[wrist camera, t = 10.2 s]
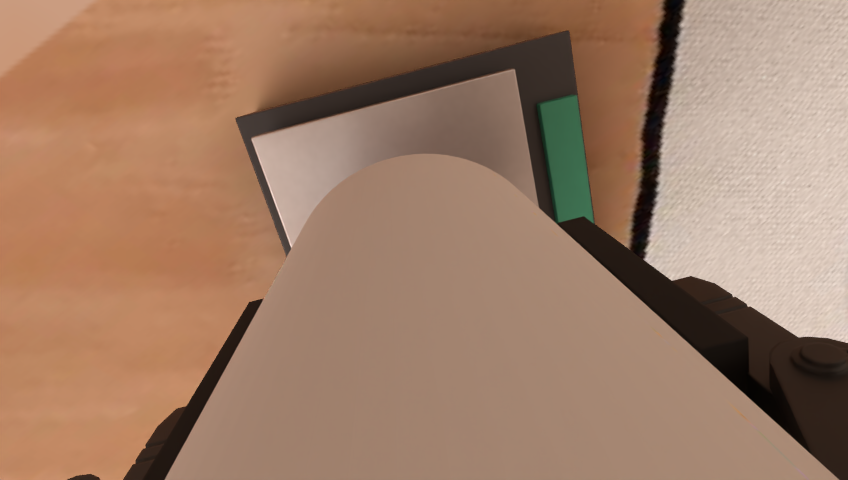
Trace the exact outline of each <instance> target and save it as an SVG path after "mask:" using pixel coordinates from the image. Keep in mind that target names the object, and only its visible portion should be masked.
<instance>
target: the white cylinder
mask: <svg viewBox="0 0 848 480" xmlns="http://www.w3.org/2000/svg"><path fill="white" fill-rule="evenodd" d="M165 480H839V479H838V478H837V477H836V476H834V475H833V474H832V473H831V472H830V471H829V470H828V469H827V468H826V467H824V466H823V465H822V464H821V463H820V462H819V461H818V460H817V459H816V458H815V457H813V456H812V455H811V454H810V453H809V452H808V451H807V450H806V449H805V448H803V447H802V446H801V445H800V444H799V443H798V442H797V441H796V440H795V439H794V438H792V437H791V436H790V435H789V434H788V433H787V432H786V431H785V430H784V429H782V428H781V427H780V426H779V425H778V424H777V423H776V422H775V421H774V420H773V419H771V418H770V417H769V416H768V415H767V414H766V413H765V412H764V411H763V410H762V409H760V408H759V407H758V406H757V405H756V404H755V403H754V402H753V401H752V400H750V399H749V398H748V397H747V396H746V395H745V394H744V393H743V392H742V391H741V390H739V389H738V388H737V387H736V386H735V385H734V384H733V383H732V382H731V381H729V380H728V379H727V378H726V377H725V376H724V375H723V374H722V373H721V372H720V371H718V370H717V369H716V368H715V367H714V366H713V365H712V364H711V363H710V362H708V361H707V360H706V359H705V358H704V357H703V356H702V355H701V354H700V353H699V352H697V351H696V350H695V349H694V348H693V347H692V346H691V345H690V344H689V343H688V342H686V341H685V340H684V339H683V338H682V337H681V336H680V335H679V334H678V333H676V332H675V331H674V330H673V329H672V328H671V327H670V326H669V325H668V324H667V323H665V322H664V321H663V320H662V319H661V318H660V317H659V316H658V315H657V314H655V313H654V312H653V311H652V310H651V309H650V308H649V307H648V306H647V305H646V304H644V303H643V302H642V301H641V300H640V299H639V298H638V297H637V296H636V295H634V294H633V293H632V292H631V291H630V290H629V289H628V288H627V287H626V286H625V285H623V284H622V283H621V282H620V281H619V280H618V279H617V278H616V277H615V276H614V275H612V274H611V273H610V272H609V271H608V270H607V269H606V268H605V267H604V266H602V265H601V264H600V263H599V262H598V261H597V260H596V259H595V258H594V257H593V256H591V255H590V254H589V253H588V252H587V251H586V250H585V249H584V248H583V247H581V246H580V245H579V244H578V243H577V242H576V241H575V240H574V239H573V238H572V237H570V236H569V235H568V234H567V233H566V232H565V231H564V230H563V229H562V228H560V227H559V226H558V225H557V224H556V223H555V222H554V221H553V220H552V219H551V218H549V217H548V216H547V215H546V214H545V213H544V212H543V211H542V210H541V209H540V208H538V207H537V206H536V205H535V204H534V203H533V202H532V201H531V200H530V199H528V198H527V197H526V196H525V195H524V194H523V193H522V192H521V191H520V190H519V189H517V188H516V187H515V186H514V185H513V184H512V183H510V182H509V181H508V180H507V179H505V178H504V177H502V176H501V175H499V174H498V173H496V172H494V171H492V170H491V169H489V168H487V167H485V166H482V165H480V164H478V163H475V162H472V161H469V160H466V159H463V158H459V157H454V156H449V155H441V154H411V155H404V156H398V157H394V158H390V159H386V160H383V161H380V162H377V163H375V164H372V165H369V166H367V167H365V168H363V169H361V170H359V171H357V172H356V173H354V174H352V175H351V176H349V177H347V178H346V179H345V180H343V181H342V182H340V183H339V184H338V185H337V186H336V187H334V188H333V189H332V190H331V191H330V192H329V193H328V194H327V195H326V196H325V197H324V198H323V199H322V200H321V201H320V202H319V204H318V205H317V206H316V207H315V209H314V210H313V212H312V213H311V214H310V216H309V218H308V219H307V221H306V223H305V225H304V226H303V228H302V230H301V232H300V234H299V235H298V237H297V239H296V241H295V243H294V245H293V246H292V248H291V250H290V252H289V254H288V256H287V257H286V259H285V261H284V263H283V265H282V266H281V268H280V270H279V272H278V274H277V276H276V277H275V279H274V281H273V283H272V285H271V287H270V288H269V290H268V292H267V294H266V296H265V298H264V299H263V301H262V303H261V305H260V307H259V308H258V310H257V312H256V314H255V316H254V318H253V319H252V321H251V323H250V325H249V327H248V329H247V330H246V332H245V334H244V336H243V338H242V339H241V341H240V343H239V345H238V347H237V349H236V350H235V352H234V354H233V356H232V358H231V360H230V361H229V363H228V365H227V367H226V369H225V371H224V372H223V374H222V376H221V378H220V380H219V381H218V383H217V385H216V387H215V389H214V391H213V392H212V394H211V396H210V398H209V400H208V402H207V403H206V405H205V407H204V409H203V411H202V412H201V414H200V416H199V418H198V420H197V422H196V423H195V425H194V427H193V429H192V431H191V433H190V434H189V436H188V438H187V440H186V442H185V444H184V445H183V447H182V449H181V451H180V453H179V454H178V456H177V458H176V460H175V462H174V464H173V465H172V467H171V469H170V471H169V473H168V475H167V476H166V478H165Z"/></svg>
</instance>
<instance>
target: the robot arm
mask: <svg viewBox="0 0 848 480" xmlns="http://www.w3.org/2000/svg"><path fill="white" fill-rule="evenodd" d="M557 224H558V226H559V227H560V228H562V229H563V230H564V231H565V232H566V233H567V234H568V235H569V236H570V237H572V238H573V239H574V240H575V241H576V242H577V243H578V244H579V245H580V246H581V247H583V248H584V249H585V250H586V251H587V252H588V253H589V254H590V255H591V256H593V257H594V258H595V259H596V260H597V261H598V262H599V263H600V264H601V265H602V266H604V267H605V268H606V269H607V270H608V271H609V272H610V273H611V274H612V275H614V276H615V277H616V278H617V279H618V280H619V281H620V282H621V283H622V284H623V285H625V286H626V287H627V288H628V289H629V290H630V291H631V292H632V293H633V294H634V295H636V296H637V297H638V298H639V299H640V300H641V301H642V302H643V303H644V304H646V305H647V306H648V307H649V308H650V309H651V310H652V311H653V312H654V313H655V314H657V315H658V316H659V317H660V318H661V319H662V320H663V321H664V322H665V323H667V324H668V325H669V326H670V327H671V328H672V329H673V330H674V331H675V332H676V333H678V334H679V335H680V336H681V337H682V338H683V339H684V340H685V341H686V342H688V343H689V344H690V345H691V346H692V347H693V348H694V349H695V350H696V351H697V352H699V353H700V354H701V355H702V356H703V357H704V358H705V359H706V360H707V361H708V362H710V363H711V364H712V365H713V366H714V367H715V368H716V369H717V370H718V371H720V372H721V373H722V374H723V375H724V376H725V377H726V378H727V379H728V380H729V381H731V382H732V383H733V384H734V385H735V386H736V387H737V388H738V389H739V390H741V391H742V392H743V393H744V394H745V395H746V396H747V397H748V398H749V399H750V400H752V401H753V402H754V403H755V404H756V405H757V406H758V407H759V408H760V409H762V410H763V411H764V412H765V413H766V414H767V415H768V416H769V417H770V418H771V419H773V420H774V421H775V422H776V423H777V424H778V425H779V426H780V427H781V428H782V429H784V430H785V431H786V432H787V433H788V434H789V435H790V436H791V437H792V438H794V439H795V440H796V441H797V442H798V443H799V444H800V445H801V446H802V447H803V448H805V449H806V450H807V451H808V452H809V453H810V454H811V455H812V456H813V457H815V458H816V459H817V460H818V461H819V462H820V463H821V464H822V465H823V466H824V467H826V468H827V469H828V470H829V471H830V472H831V473H832V474H833V475H834V476H836V477H837V478H838V479H839V480H848V343H845V342H841V341H837V340H832V339H828V338H817V337H801V338H798V337H797V336H795V335H794V334H792V333H790V332H789V331H787V330H786V329H784V328H783V327H781V326H780V325H778V324H777V323H775V322H773V321H772V320H770V319H769V318H767V317H766V316H764V315H763V314H761V313H760V312H758V311H756V310H755V309H753V308H752V307H747V304H746V303H744V302H743V301H741V300H739V299H738V298H736V297H733V296H732V294H730V293H729V292H727V291H726V290H724V289H722V288H721V287H719V286H718V285H716V284H715V283H711V282H708V281H705V280H702V279H698V278H695V277H692V276H690V277H686V278H682V279H678V280H674V281H671V280H670V279H668V278H667V277H666V276H664V275H663V274H662V273H660V272H659V271H658V270H656V269H655V268H654V267H652V266H651V265H649V264H648V263H647V262H645V261H644V260H643V259H641V258H640V257H639V256H637V255H636V254H635V253H633V252H632V251H630V250H629V249H628V248H626V247H625V246H624V245H622V244H621V243H620V242H618V241H617V240H616V239H614V238H613V237H611V236H610V235H609V234H607V233H606V232H605V231H603V230H602V229H601V228H599V227H598V226H597V225H595V224H594V223H592V222H591V221H590V220H588V219H587V218H586V217H584V216H582V217H579V218H575V219H571V220H567V221H563V222H559V223H557ZM262 301H263V299H260V300H256V301H252V302H249V304H248V305H247V307H246V309H245V310H244V312H243V314H242V315H241V317H240V319H239V320H238V322H237V324H236V325H235V327H234V329H233V330H232V332H231V334H230V335H229V337H228V338H227V340H226V342H225V343H224V345H223V347H222V348H221V350H220V352H219V353H218V355H217V357H216V358H215V360H214V362H213V363H212V365H211V367H210V368H209V370H208V372H207V373H206V375H205V377H204V378H203V380H202V382H201V383H200V385H199V387H198V388H197V390H196V392H195V393H194V395H193V396H192V398H191V400H190V401H189V403H188V405H187V406H186V407H182V408H178V409H176V410H175V411H174V412H173V413H172V414H171V415H169V416H168V417H167V418H166V419H165V420H164V421H163V422H162V423H161V424H160V425H159V426H158V427H157V428H156V430H155V431H154V433H153V434H152V436H151V438H150V439H149V441H148V442H147V444H146V448H145V449H143V450H142V451H141V453H140V454H139V456H138V457H137V459H136V464H134V465H132V467H131V468H130V470H129V471H128V473H127V474H126V476H125V477H124V479H123V480H165V478H166V476H167V475H168V473H169V471H170V469H171V467H172V465H173V464H174V462H175V460H176V458H177V456H178V454H179V453H180V451H181V449H182V447H183V445H184V444H185V442H186V440H187V438H188V436H189V434H190V433H191V431H192V429H193V427H194V425H195V423H196V422H197V420H198V418H199V416H200V414H201V412H202V411H203V409H204V407H205V405H206V403H207V402H208V400H209V398H210V396H211V394H212V392H213V391H214V389H215V387H216V385H217V383H218V381H219V380H220V378H221V376H222V374H223V372H224V371H225V369H226V367H227V365H228V363H229V361H230V360H231V358H232V356H233V354H234V352H235V350H236V349H237V347H238V345H239V343H240V341H241V339H242V338H243V336H244V334H245V332H246V330H247V329H248V327H249V325H250V323H251V321H252V319H253V318H254V316H255V314H256V312H257V310H258V308H259V307H260V305H261V303H262ZM68 480H100V479H99V477H97V476H94V475H92V474H87V475H79V476H75V477H73V478H70V479H68Z"/></svg>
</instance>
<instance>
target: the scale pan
mask: <svg viewBox="0 0 848 480" xmlns="http://www.w3.org/2000/svg"><path fill="white" fill-rule="evenodd" d="M251 140H252V143H253V145H254V148H255V151H256V154H257V156H258V159H259V162H260V164H261V167H262V170H263V173H264V175H265V178H266V181H267V184H268V186H269V189H270V192H271V195H272V197H273V200H274V203H275V205H276V208H277V211H278V214H279V216H280V219H281V222H282V225H283V227H284V230H285V233H286V236H287V238H288V241H289V244H290V246H291V248H292V246H293V245H294V243H295V241H296V239H297V237H298V235H299V234H300V232H301V230H302V228H303V226H304V225H305V223H306V221H307V219H308V218H309V216H310V214H311V213H312V212H313V210H314V209H315V207H316V206H317V205H318V204H319V202H320V201H321V200H322V199H323V198H324V197H325V196H326V195H327V194H328V193H329V192H330V191H331V190H332V189H333V188H334V187H336V186H337V185H338V184H339V183H340V182H342V181H343V180H345V179H346V178H347V177H349V176H351V175H352V174H354V173H356V172H357V171H359V170H361V169H363V168H365V167H367V166H369V165H372V164H375V163H377V162H380V161H383V160H386V159H390V158H394V157H398V156H404V155H411V154H441V155H449V156H454V157H459V158H463V159H466V160H469V161H472V162H475V163H478V164H480V165H482V166H485V167H487V168H489V169H491V170H492V171H494V172H496V173H498V174H499V175H501V176H502V177H504V178H505V179H507V180H508V181H509V182H510V183H512V184H513V185H514V186H515V187H516V188H517V189H519V190H520V191H521V192H522V193H523V194H524V195H525V196H526V197H527V198H528V199H530V200H531V201H532V202H533V203H534V204H535V205H536V206H537V207H538V208H539V205H538V199H537V194H536V188H535V182H534V176H533V171H532V165H531V159H530V153H529V147H528V142H527V136H526V130H525V124H524V118H523V113H522V107H521V101H520V95H519V89H518V84H517V78H516V72H515V69H505V70H502V71H498V72H494V73H490V74H486V75H483V76H479V77H475V78H471V79H467V80H464V81H460V82H456V83H452V84H448V85H444V86H441V87H437V88H433V89H429V90H425V91H422V92H418V93H414V94H410V95H406V96H403V97H399V98H395V99H391V100H387V101H384V102H380V103H376V104H372V105H368V106H364V107H361V108H357V109H353V110H349V111H345V112H342V113H338V114H334V115H330V116H326V117H323V118H319V119H315V120H311V121H307V122H304V123H300V124H296V125H292V126H288V127H284V128H281V129H277V130H273V131H269V132H265V133H262V134H258V135H255V136H253V137H252V138H251Z"/></svg>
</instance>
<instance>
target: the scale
mask: <svg viewBox="0 0 848 480" xmlns="http://www.w3.org/2000/svg"><path fill="white" fill-rule="evenodd" d="M505 69H515V72H516V78H517V84H518V89H519V95H520V101H521V107H522V113H523V118H524V124H525V130H526V136H527V142H528V147H529V153H530V159H531V165H532V171H533V176H534V182H535V188H536V194H537V199H538V205H539V208H540V209H541V210H542V211H543V212H544V213H545V214H546V215H547V216H548V217H549V218H551V219H552V220H553V221H554V222H555V223H556V224H557V223H559V222H563V221H567V220H571V219H575V218H579V217H582V216H584V217H586V218H587V219H588V220H590V221H591V222H592V223H594V224H595V221H594V213H593V206H592V198H591V191H590V183H589V176H588V168H587V161H586V153H585V146H584V138H583V131H582V123H581V116H580V108H579V101H578V93H577V86H576V78H575V71H574V63H573V55H572V48H571V40H570V33H569V31H563V32H559V33H554V34H550V35H546V36H542V37H538V38H534V39H530V40H527V41H523V42H519V43H515V44H511V45H508V46H504V47H500V48H496V49H492V50H489V51H485V52H481V53H477V54H473V55H470V56H466V57H462V58H458V59H454V60H451V61H447V62H443V63H439V64H435V65H432V66H428V67H424V68H420V69H416V70H413V71H409V72H405V73H401V74H397V75H394V76H390V77H386V78H382V79H378V80H375V81H371V82H367V83H363V84H359V85H356V86H352V87H348V88H344V89H340V90H337V91H333V92H329V93H325V94H321V95H318V96H314V97H310V98H306V99H302V100H299V101H295V102H291V103H287V104H283V105H280V106H276V107H272V108H268V109H265V110H261V111H257V112H253V113H250V114H247V115H244V116H240V117H237V118H236V122H237V125H238V127H239V130H240V133H241V135H242V138H243V141H244V143H245V146H246V149H247V151H248V154H249V157H250V160H251V162H252V165H253V168H254V170H255V173H256V176H257V178H258V181H259V184H260V186H261V189H262V192H263V194H264V197H265V200H266V203H267V205H268V208H269V211H270V213H271V216H272V219H273V221H274V224H275V227H276V229H277V232H278V235H279V238H280V240H281V243H282V246H283V248H284V251H285V254H286V256H288V254H289V252H290V250H291V246H290V244H289V241H288V238H287V236H286V233H285V230H284V227H283V225H282V222H281V219H280V216H279V214H278V211H277V208H276V205H275V203H274V200H273V197H272V195H271V192H270V189H269V186H268V184H267V181H266V178H265V175H264V173H263V170H262V167H261V164H260V162H259V159H258V156H257V154H256V151H255V148H254V145H253V143H252V140H251V138H252V137H253V136H255V135H258V134H262V133H265V132H269V131H273V130H277V129H281V128H284V127H288V126H292V125H296V124H300V123H304V122H307V121H311V120H315V119H319V118H323V117H326V116H330V115H334V114H338V113H342V112H345V111H349V110H353V109H357V108H361V107H364V106H368V105H372V104H376V103H380V102H384V101H387V100H391V99H395V98H399V97H403V96H406V95H410V94H414V93H418V92H422V91H425V90H429V89H433V88H437V87H441V86H444V85H448V84H452V83H456V82H460V81H464V80H467V79H471V78H475V77H479V76H483V75H486V74H490V73H494V72H498V71H502V70H505ZM557 225H558V224H557Z"/></svg>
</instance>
